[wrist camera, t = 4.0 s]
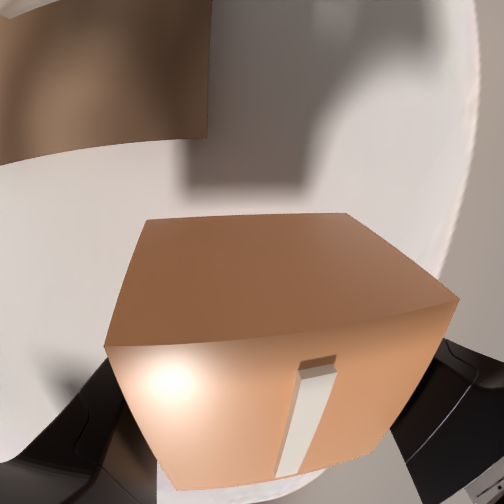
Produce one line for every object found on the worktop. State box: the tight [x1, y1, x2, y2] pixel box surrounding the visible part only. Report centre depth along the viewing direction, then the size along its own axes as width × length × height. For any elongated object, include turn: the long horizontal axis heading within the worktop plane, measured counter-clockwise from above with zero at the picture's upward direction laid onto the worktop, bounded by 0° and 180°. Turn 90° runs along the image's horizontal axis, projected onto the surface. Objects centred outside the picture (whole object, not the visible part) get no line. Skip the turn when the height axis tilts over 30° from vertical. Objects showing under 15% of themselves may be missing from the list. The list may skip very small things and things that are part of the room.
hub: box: [104, 213, 460, 490], centre depth 7 cm, size 6×6×5 cm
